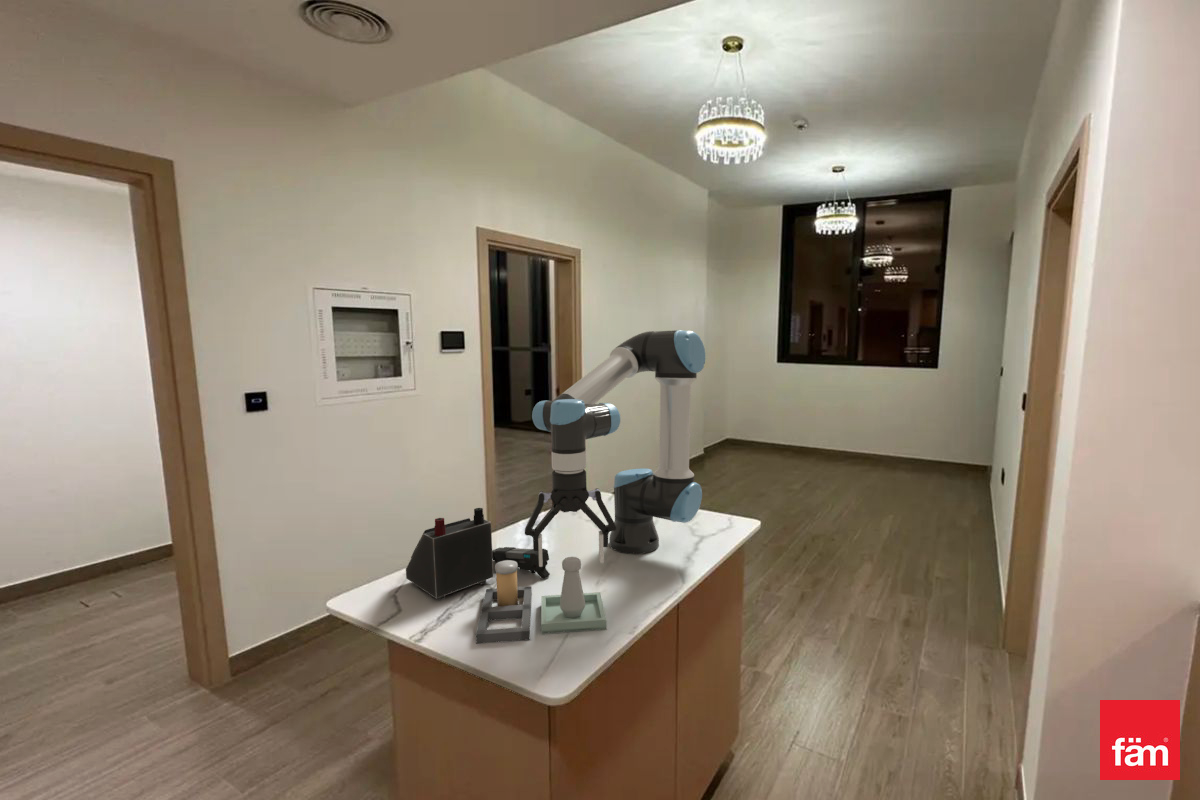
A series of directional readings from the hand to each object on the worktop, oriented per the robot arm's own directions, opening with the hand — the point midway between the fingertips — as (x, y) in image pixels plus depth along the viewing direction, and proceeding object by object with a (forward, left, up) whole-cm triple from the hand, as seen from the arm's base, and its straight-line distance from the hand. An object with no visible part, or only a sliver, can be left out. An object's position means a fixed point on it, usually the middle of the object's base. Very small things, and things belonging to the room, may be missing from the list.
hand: (571, 562), depth 121 cm
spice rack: (+15, -2, -13) cm, 20 cm away
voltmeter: (+31, -22, -13) cm, 40 cm away
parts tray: (0, 0, -13) cm, 13 cm away
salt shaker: (0, 0, -12) cm, 12 cm away
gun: (+13, -28, -13) cm, 34 cm away
